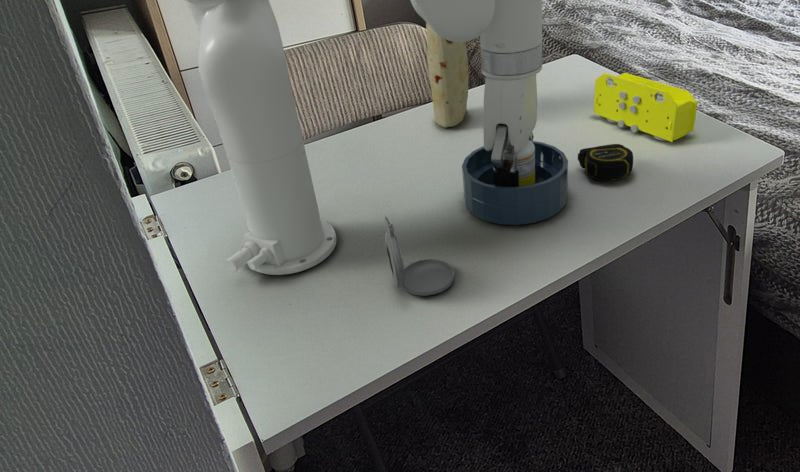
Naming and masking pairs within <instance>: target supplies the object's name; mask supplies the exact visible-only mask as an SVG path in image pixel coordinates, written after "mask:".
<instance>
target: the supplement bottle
mask: <svg viewBox="0 0 800 472" xmlns="http://www.w3.org/2000/svg"><path fill="white" fill-rule="evenodd" d="M505 149H513V146H512V145H511V144H506V147H505ZM504 156H505V159H506V160H508V161H509V162H511V154H508V153H504ZM516 170H518V171H519V187H520V186H528V185H534V184H535V146H534V144H533V142H532V141H530V140H529V138H528V140H527V142H526V143H525V145H524V147H523V148H522V150H520V151H519V152H518V154H517V163H516Z"/></svg>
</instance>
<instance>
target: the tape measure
mask: <svg viewBox="0 0 800 472" xmlns="http://www.w3.org/2000/svg"><path fill="white" fill-rule="evenodd" d="M577 161H578V162H579V167H581V168H582V169H583V170H585V173H586V174H587V175H588V176H589V177H590V178H593V179H595V180H598V181H617V180H621V179H624V178H626V177H628V176H629V175H630V174H631V173H632V170H633V166H634V153H633V151H632V150H631V149H630V148H628V147H626V146H625V145H624V144H621V143H612V144H611V143H610V144H604V145H598V146H597V145H596V146H592V147H586V148H581V149H579V152H578V153H577Z"/></svg>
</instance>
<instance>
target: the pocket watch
mask: <svg viewBox="0 0 800 472" xmlns="http://www.w3.org/2000/svg"><path fill="white" fill-rule="evenodd" d="M384 220H385V223H386V225H387V232H385V233H384V241H385V249H386V255H387V259H388V264H389V268H390V272H391V276H392V279H393V282H394V285H395V287H397V288H403V290H404V291H406V292H407V293H410V294H412V295H416V296H432V295H438V294H439V293H442V292H444V291H446V290H447V289H448V288H449V287H451V285H452V284H453V282H454V280H455V271H454V268H453V267H452V265H450V264H449V263H448V262H447V261H444V260H442V259H436V258H423V259H418V260H415V261H413V262H411V263H409V264H407V265H406V266H405V267H404V260H403V257H402V256H403V255H402V251H401V247H400V244H399V241H398V238H397V235H396V234H395V226H394V225H393V224H392V223H391V222H390V221H389V219H388V217H387V216H384Z"/></svg>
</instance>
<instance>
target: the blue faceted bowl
mask: <svg viewBox="0 0 800 472" xmlns="http://www.w3.org/2000/svg"><path fill="white" fill-rule="evenodd" d="M533 144H534V146H535V184H534V185H528V186H520V187H499V186H495V183H494V171H493V163H492V161H491V156H492V151H493V149H492V150H490V151H486V150H485V148H484V145H483V146H480V147H478V148H477V149H474V150H473V151H471V153H469V154H468V155H467V156H466V157H465V158H464V160H463V162H462V165H461V172H462V173H461V174H462V185H463V186H462V187H463V199H464V202H465V203H464V204H465V207H466V209H467V210H468V211H469V212H470V213H471V214H472V215H473V216H475V217H477V218H479V219H481V220H482V221H485V222H489V223H492V224H498V225H511V226H516V225H517V226H519V225H528V224H534V223H538V222H541V221H545V220H547V219H550V218H551V217H553V216H554V215H556V214H558V213H559V212H560V211H561V210H562V209H563V208H564V207H565V205H567V200H568V184H569V183H568V182H569V181H568V179H569V159H568V157H567V156H566V154H565V152H563V151H562V150H560V149H559V148H557V147H556V146H554V145H551V144H548V143H545V142H542V141H536V140H535V141H534V140H533Z"/></svg>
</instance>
